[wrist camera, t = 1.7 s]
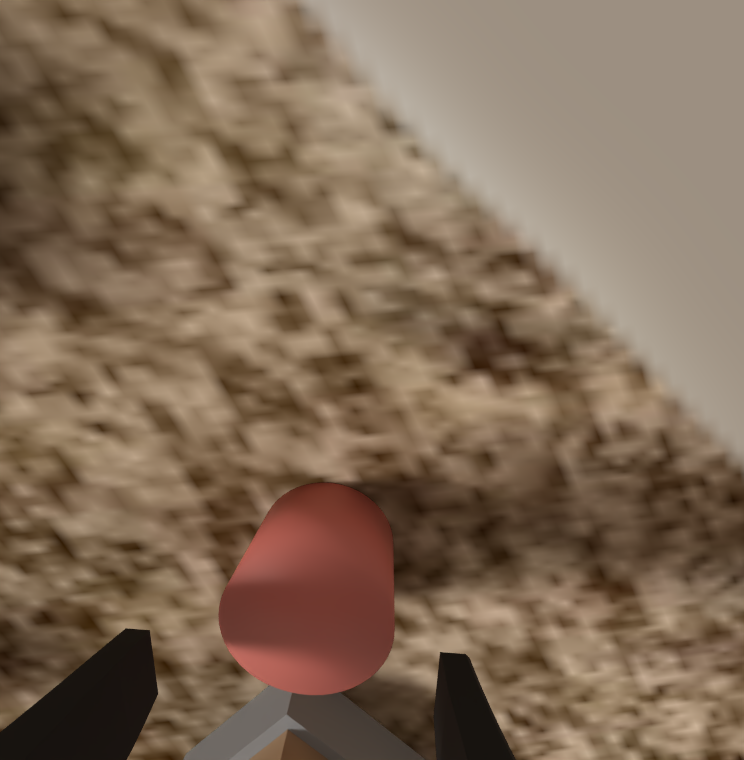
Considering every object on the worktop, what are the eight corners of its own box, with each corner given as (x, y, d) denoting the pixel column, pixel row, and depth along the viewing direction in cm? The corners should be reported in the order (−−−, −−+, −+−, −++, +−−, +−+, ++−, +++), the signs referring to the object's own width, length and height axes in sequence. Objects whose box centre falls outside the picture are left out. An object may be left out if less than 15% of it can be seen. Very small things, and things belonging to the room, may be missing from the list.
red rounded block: (421, 543, 13) (431, 630, 10) (331, 617, 14) (312, 721, 11) (323, 455, 13) (297, 515, 9) (236, 539, 14) (183, 622, 10)
